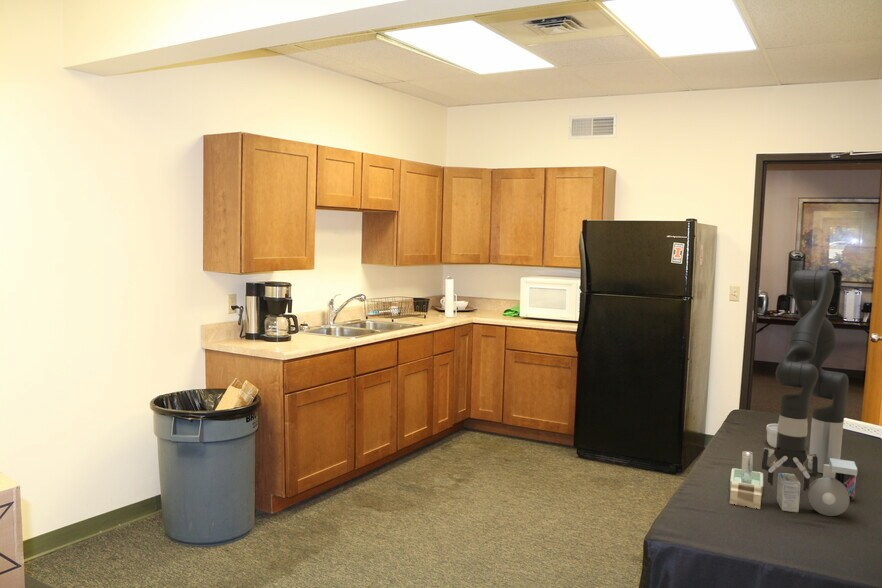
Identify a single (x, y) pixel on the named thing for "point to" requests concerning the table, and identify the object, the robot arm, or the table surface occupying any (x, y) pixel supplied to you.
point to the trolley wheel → (831, 488)
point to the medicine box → (788, 492)
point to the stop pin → (747, 467)
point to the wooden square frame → (745, 495)
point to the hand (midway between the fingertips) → (787, 487)
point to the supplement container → (847, 483)
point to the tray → (756, 480)
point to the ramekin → (772, 434)
